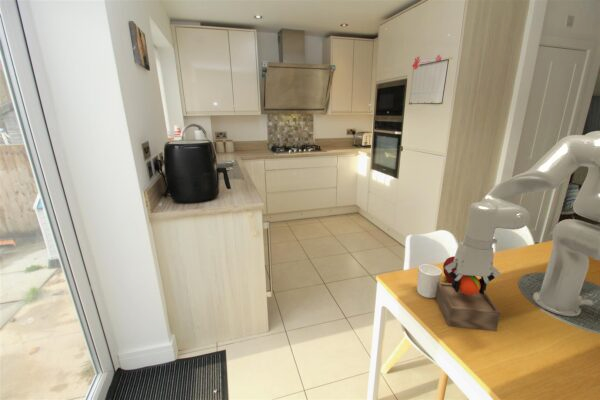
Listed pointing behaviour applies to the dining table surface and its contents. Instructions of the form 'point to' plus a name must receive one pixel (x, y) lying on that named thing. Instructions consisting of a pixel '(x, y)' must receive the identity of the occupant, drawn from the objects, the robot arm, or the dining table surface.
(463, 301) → the walnut stand
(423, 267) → the white cup
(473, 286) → the clementine
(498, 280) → the dining table surface
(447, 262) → the apple
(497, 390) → the dining table surface
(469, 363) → the dining table surface
